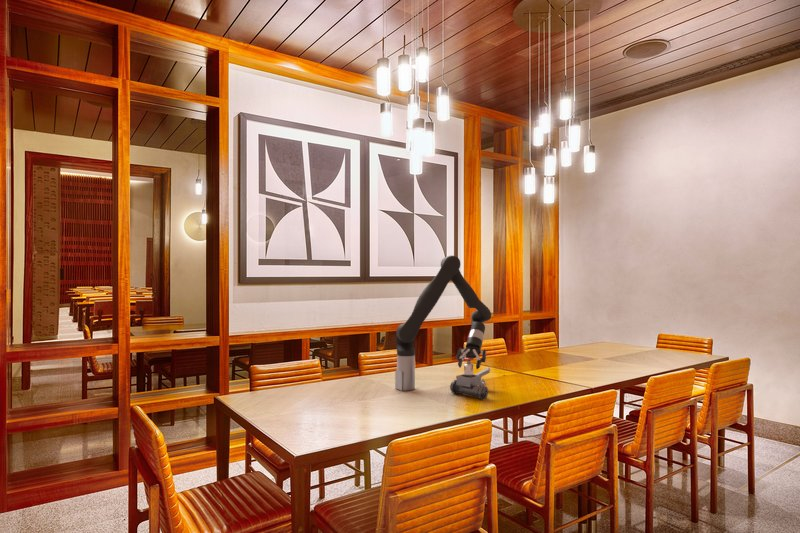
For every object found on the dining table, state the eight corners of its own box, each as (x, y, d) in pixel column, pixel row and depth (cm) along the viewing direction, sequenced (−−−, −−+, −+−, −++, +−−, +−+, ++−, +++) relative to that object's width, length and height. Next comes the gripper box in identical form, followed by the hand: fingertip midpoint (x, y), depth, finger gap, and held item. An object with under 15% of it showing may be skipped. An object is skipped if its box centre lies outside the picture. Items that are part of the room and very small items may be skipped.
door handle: (461, 401, 250) (496, 383, 246) (453, 387, 251) (488, 369, 247) (465, 392, 267) (497, 376, 263) (457, 379, 268) (490, 362, 264)
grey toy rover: (489, 398, 234) (489, 377, 234) (478, 401, 228) (478, 380, 228) (459, 391, 247) (459, 371, 247) (448, 394, 241) (448, 374, 241)
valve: (468, 383, 235) (468, 359, 235) (462, 382, 238) (462, 357, 238) (475, 382, 237) (475, 358, 237) (469, 381, 241) (469, 357, 241)
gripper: (459, 335, 248) (452, 361, 237) (487, 336, 242) (481, 364, 231) (462, 344, 253) (455, 370, 242) (490, 346, 247) (484, 373, 236)
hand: (468, 367), depth 237 cm, fingers open, 8 cm apart
